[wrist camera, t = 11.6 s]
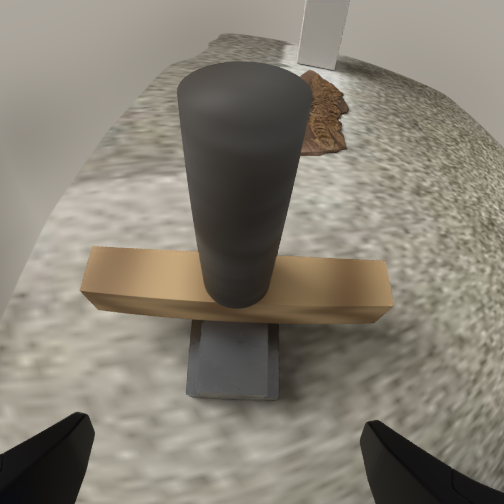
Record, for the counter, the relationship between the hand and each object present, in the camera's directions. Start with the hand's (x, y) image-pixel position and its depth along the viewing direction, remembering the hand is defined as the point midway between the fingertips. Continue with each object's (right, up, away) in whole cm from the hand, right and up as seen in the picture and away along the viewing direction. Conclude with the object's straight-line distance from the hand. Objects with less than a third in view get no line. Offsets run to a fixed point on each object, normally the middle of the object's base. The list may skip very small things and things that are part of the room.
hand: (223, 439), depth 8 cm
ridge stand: (0, 0, +15) cm, 15 cm away
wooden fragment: (+9, +27, +33) cm, 43 cm away
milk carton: (+13, +42, +42) cm, 61 cm away
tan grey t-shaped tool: (0, +3, +11) cm, 12 cm away
